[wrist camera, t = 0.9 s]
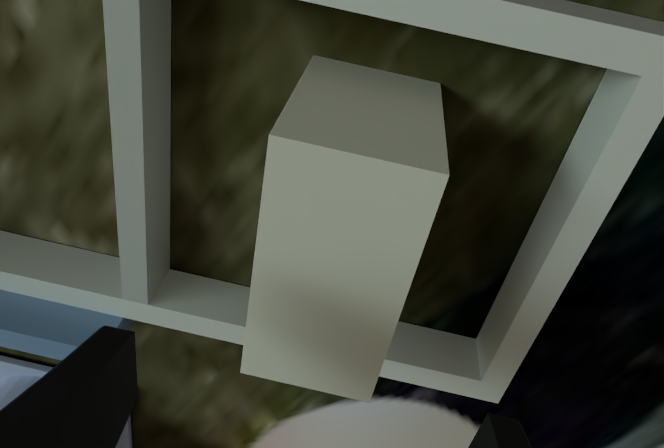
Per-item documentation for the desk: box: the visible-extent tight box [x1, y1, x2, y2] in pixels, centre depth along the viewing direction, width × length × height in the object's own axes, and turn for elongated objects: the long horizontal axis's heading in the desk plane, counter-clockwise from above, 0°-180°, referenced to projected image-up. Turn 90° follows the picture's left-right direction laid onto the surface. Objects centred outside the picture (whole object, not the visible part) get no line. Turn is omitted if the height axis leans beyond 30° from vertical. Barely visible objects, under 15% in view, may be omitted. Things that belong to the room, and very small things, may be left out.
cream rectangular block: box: [240, 55, 449, 402], centre depth 16 cm, size 8×4×6 cm, turn 170°
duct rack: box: [0, 0, 664, 403], centre depth 17 cm, size 15×29×4 cm, turn 80°
